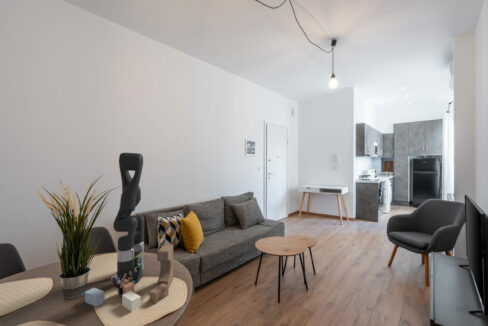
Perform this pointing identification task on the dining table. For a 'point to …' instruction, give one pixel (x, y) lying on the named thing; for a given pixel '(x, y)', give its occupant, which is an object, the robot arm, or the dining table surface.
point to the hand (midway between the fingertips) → (125, 292)
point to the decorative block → (165, 264)
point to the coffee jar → (137, 261)
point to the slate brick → (94, 297)
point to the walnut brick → (158, 293)
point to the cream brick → (131, 301)
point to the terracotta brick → (127, 286)
